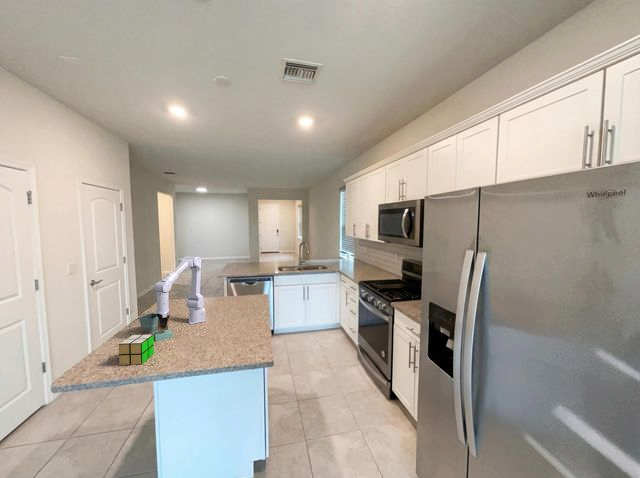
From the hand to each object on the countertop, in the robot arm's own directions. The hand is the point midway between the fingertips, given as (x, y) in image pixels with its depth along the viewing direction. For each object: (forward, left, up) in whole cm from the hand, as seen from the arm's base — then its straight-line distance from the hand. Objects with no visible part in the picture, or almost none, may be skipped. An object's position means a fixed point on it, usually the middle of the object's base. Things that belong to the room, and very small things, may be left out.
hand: (163, 326), depth 145 cm
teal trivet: (0, 0, -7) cm, 7 cm away
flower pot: (+4, -15, -6) cm, 17 cm away
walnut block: (0, 0, -2) cm, 2 cm away
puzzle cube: (+13, +21, -6) cm, 26 cm away
